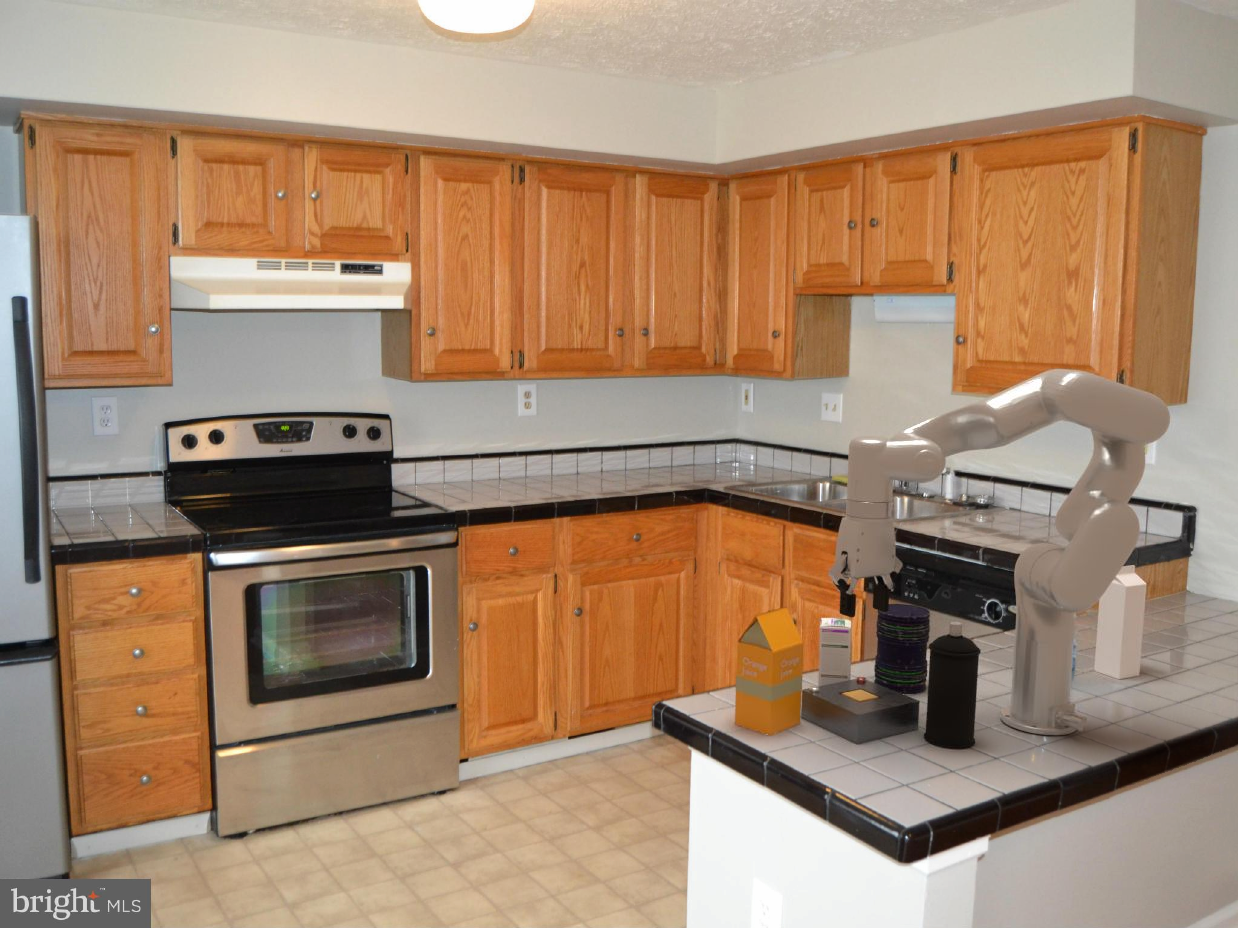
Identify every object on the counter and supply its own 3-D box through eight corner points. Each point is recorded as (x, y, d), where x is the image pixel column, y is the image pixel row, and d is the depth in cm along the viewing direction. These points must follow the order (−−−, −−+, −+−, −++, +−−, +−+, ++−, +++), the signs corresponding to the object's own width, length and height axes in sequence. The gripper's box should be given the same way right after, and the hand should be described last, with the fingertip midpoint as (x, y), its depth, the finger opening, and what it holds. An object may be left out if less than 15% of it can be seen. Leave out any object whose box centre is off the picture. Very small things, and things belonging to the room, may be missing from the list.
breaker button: (877, 713, 186) (878, 696, 186) (858, 717, 184) (859, 700, 184) (859, 705, 190) (860, 689, 190) (841, 709, 188) (841, 693, 187)
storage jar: (863, 680, 211) (867, 605, 209) (907, 676, 214) (911, 602, 212) (891, 697, 201) (895, 618, 199) (937, 692, 204) (941, 615, 202)
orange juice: (801, 723, 187) (805, 610, 184) (770, 736, 181) (774, 619, 178) (764, 711, 192) (768, 601, 190) (733, 723, 186) (737, 610, 184)
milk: (1093, 671, 219) (1100, 564, 216) (1114, 667, 222) (1121, 561, 219) (1119, 680, 214) (1127, 570, 211) (1140, 675, 216) (1148, 567, 214)
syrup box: (849, 704, 197) (853, 626, 195) (816, 701, 198) (819, 624, 196) (849, 694, 202) (852, 618, 200) (817, 691, 203) (820, 616, 202)
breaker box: (918, 729, 185) (919, 697, 184) (857, 744, 178) (858, 711, 177) (860, 704, 197) (861, 674, 196) (801, 717, 190) (802, 686, 189)
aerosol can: (968, 753, 175) (975, 632, 172) (917, 742, 179) (923, 624, 177) (980, 737, 182) (987, 621, 179) (931, 727, 186) (938, 614, 184)
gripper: (890, 503, 190) (885, 602, 193) (814, 510, 181) (810, 613, 184) (922, 509, 184) (916, 611, 186) (845, 517, 175) (840, 624, 177)
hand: (864, 612), depth 185 cm, fingers open, 7 cm apart
